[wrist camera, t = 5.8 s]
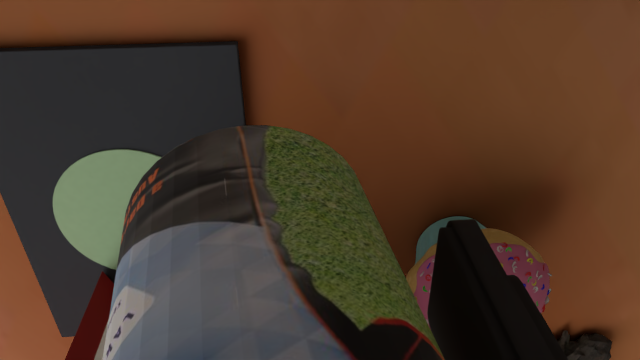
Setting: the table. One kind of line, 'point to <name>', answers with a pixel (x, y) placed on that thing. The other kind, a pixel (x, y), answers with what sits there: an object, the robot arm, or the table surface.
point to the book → (93, 324)
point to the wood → (586, 347)
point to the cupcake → (507, 249)
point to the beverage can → (259, 259)
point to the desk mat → (98, 146)
